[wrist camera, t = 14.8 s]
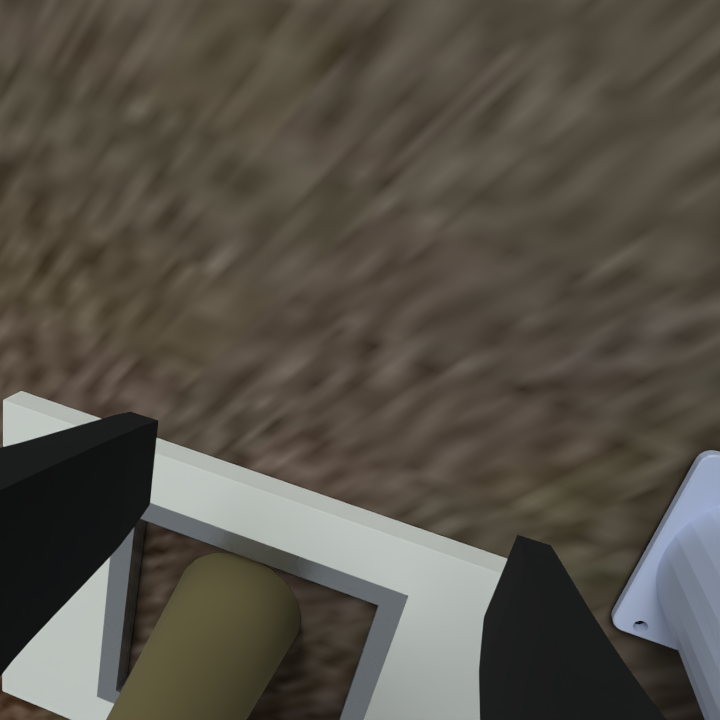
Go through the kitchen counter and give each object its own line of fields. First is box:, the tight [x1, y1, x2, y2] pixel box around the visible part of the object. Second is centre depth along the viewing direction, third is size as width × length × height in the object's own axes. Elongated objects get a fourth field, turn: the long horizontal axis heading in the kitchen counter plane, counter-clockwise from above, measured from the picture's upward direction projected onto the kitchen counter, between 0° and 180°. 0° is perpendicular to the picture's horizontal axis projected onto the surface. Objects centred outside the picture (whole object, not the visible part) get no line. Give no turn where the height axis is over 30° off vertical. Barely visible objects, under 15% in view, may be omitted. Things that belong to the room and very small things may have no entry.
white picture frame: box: [2, 391, 507, 720], centre depth 26 cm, size 24×18×1 cm
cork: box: [106, 553, 301, 720], centre depth 21 cm, size 6×6×11 cm
